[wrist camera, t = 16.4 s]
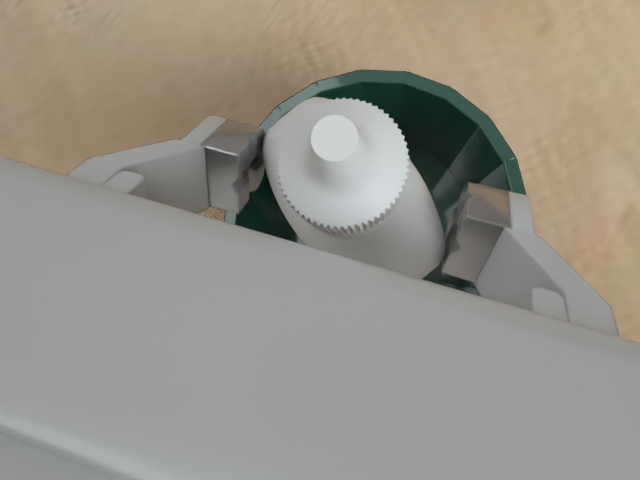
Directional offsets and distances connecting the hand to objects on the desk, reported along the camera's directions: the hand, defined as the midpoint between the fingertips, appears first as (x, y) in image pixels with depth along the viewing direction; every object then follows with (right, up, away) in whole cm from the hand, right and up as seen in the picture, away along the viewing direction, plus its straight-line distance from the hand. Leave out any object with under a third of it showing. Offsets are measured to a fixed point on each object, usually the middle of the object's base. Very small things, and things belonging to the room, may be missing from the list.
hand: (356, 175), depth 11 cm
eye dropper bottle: (+1, -1, +7) cm, 7 cm away
